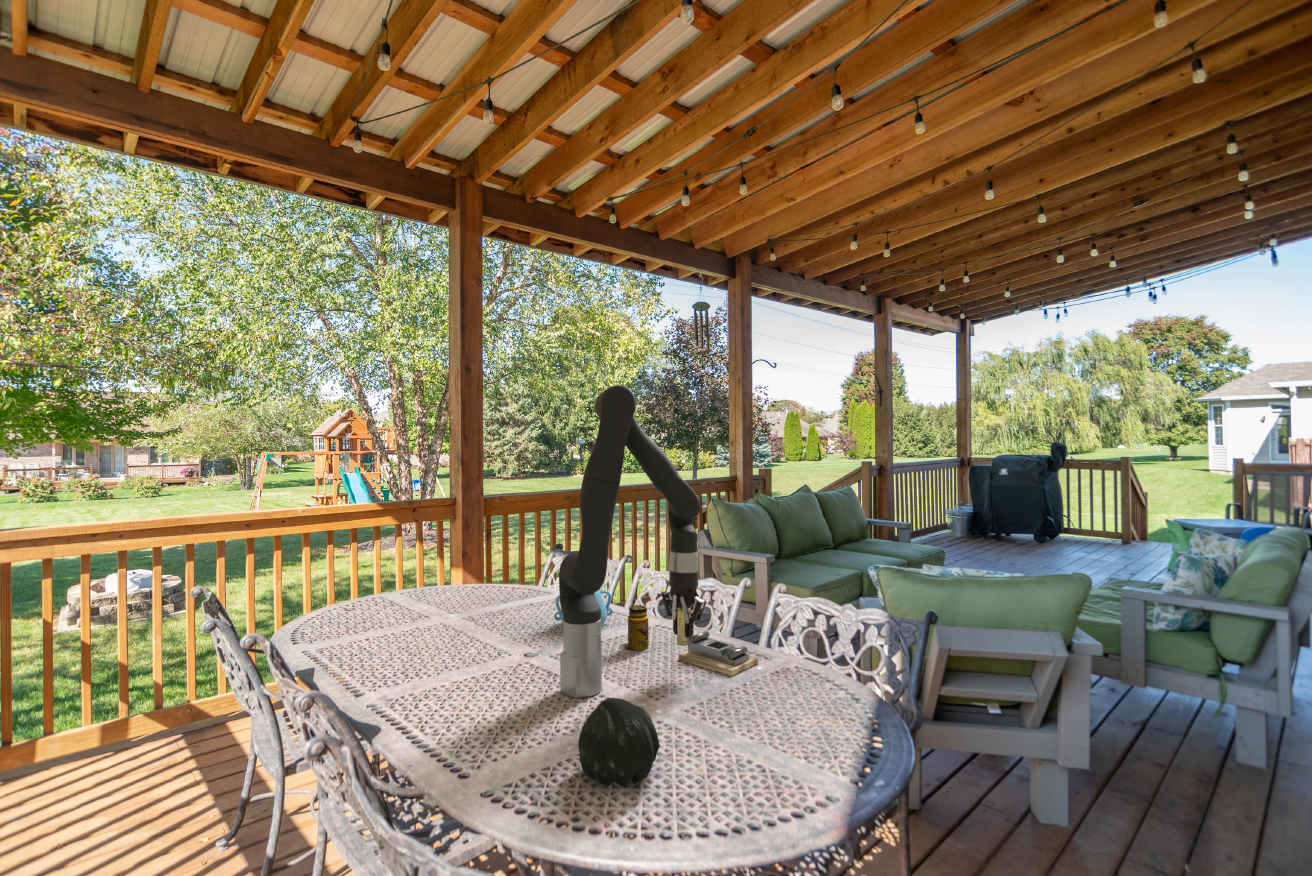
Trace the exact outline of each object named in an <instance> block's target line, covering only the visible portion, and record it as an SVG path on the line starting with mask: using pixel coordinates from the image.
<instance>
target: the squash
mask: <svg viewBox="0 0 1312 876" xmlns="http://www.w3.org/2000/svg"><path fill="white" fill-rule="evenodd" d="M577 743H578V745H577V747H578V752H579V763H580V767H581V770H582V773H583V774H584V775H585V776H586V777H587V778H589V779H590V780H594V781H595V780H596V781H597V783H598V784H600V785H601V786H610V785H612V784H614V783H615V782H616V784H618V785H619V786H620V787H628V786H629V785H630V784H631V783H632V781H635V782H641V781H643V780H644V779H646V778H647V777H648V776H649V775H650V772H651V771H652V768H653V763H654V762H655V760H656V758H657V755H658V751H659V749H660V740H659V735H658V731H657V729H656V726H655V725H654V723H653V719H652V717H651V716H650V714H649V712H648V711H646V710H645V709H644V708H643V707H640V706H639V705H636V704H633V703H632V702H630V701H628V700H626V699H624V698H618V697H617V698H616V697H609V698H605V699H603V700H602V701H601V702H600V703H599V704H598V705H597V706H596V707H595V709H593V710H592V711H591V712H590V714H589V715H588V716H587V718H586V720H585V722H584V724H583V726H582V727H581V730H580V733H579V738H578V742H577Z"/></svg>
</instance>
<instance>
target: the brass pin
mask: <svg viewBox="0 0 1312 876" xmlns="http://www.w3.org/2000/svg"><path fill="white" fill-rule="evenodd" d="M687 610H690V609H687ZM689 616H690V614H689ZM685 623H686V621H685V615H684V614H683V609H682V608H677V635H676V645H678V646H681V647H682V646H683V647H686V646H687V647H688V645H689V638H686V637H685Z"/></svg>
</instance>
